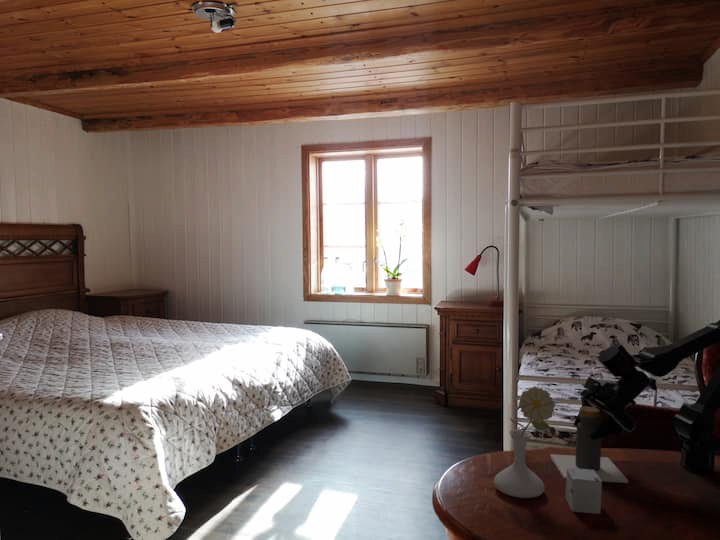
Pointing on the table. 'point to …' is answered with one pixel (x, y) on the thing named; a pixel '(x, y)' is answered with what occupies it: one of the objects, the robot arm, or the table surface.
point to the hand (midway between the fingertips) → (582, 432)
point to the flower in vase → (518, 475)
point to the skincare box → (583, 490)
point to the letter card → (605, 473)
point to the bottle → (588, 440)
